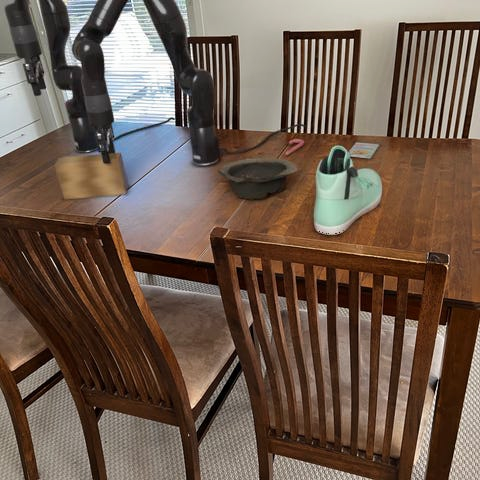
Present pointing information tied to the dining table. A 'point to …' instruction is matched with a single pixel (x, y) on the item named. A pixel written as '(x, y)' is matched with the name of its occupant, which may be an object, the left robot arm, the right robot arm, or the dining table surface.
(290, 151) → the candy cane
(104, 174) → the box
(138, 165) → the dining table surface
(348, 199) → the sneaker
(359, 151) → the baking ingredient package
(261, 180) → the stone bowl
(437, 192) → the dining table surface
